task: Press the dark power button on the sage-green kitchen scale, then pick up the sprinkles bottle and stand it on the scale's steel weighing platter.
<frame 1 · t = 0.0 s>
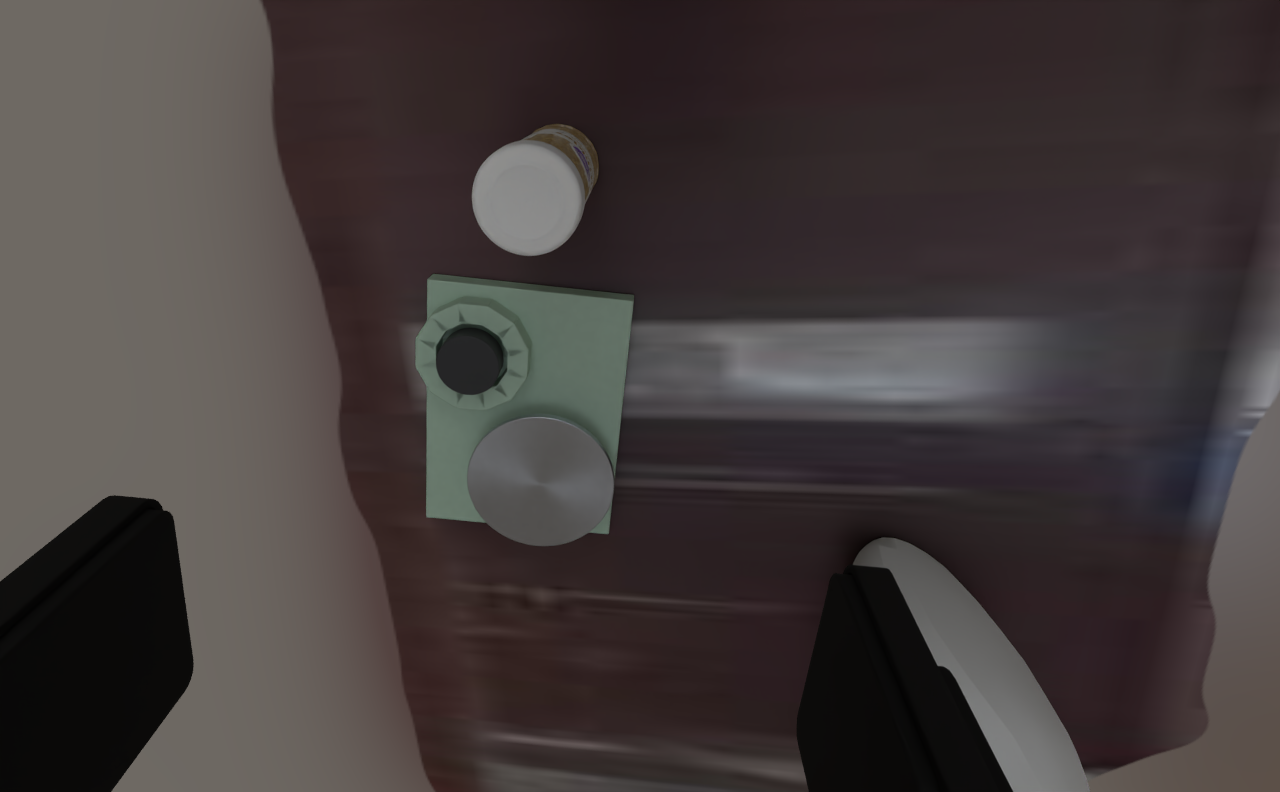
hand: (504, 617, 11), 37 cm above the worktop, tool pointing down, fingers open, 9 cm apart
soap bottle: (903, 586, 55), on the worktop
sprinkles bottle: (559, 164, 45), on the worktop
power button: (470, 361, 45), point 3 cm above the worktop, slide at 0.1 cm
scale: (526, 406, 50), on the worktop
platter: (541, 480, 49), resting on scale
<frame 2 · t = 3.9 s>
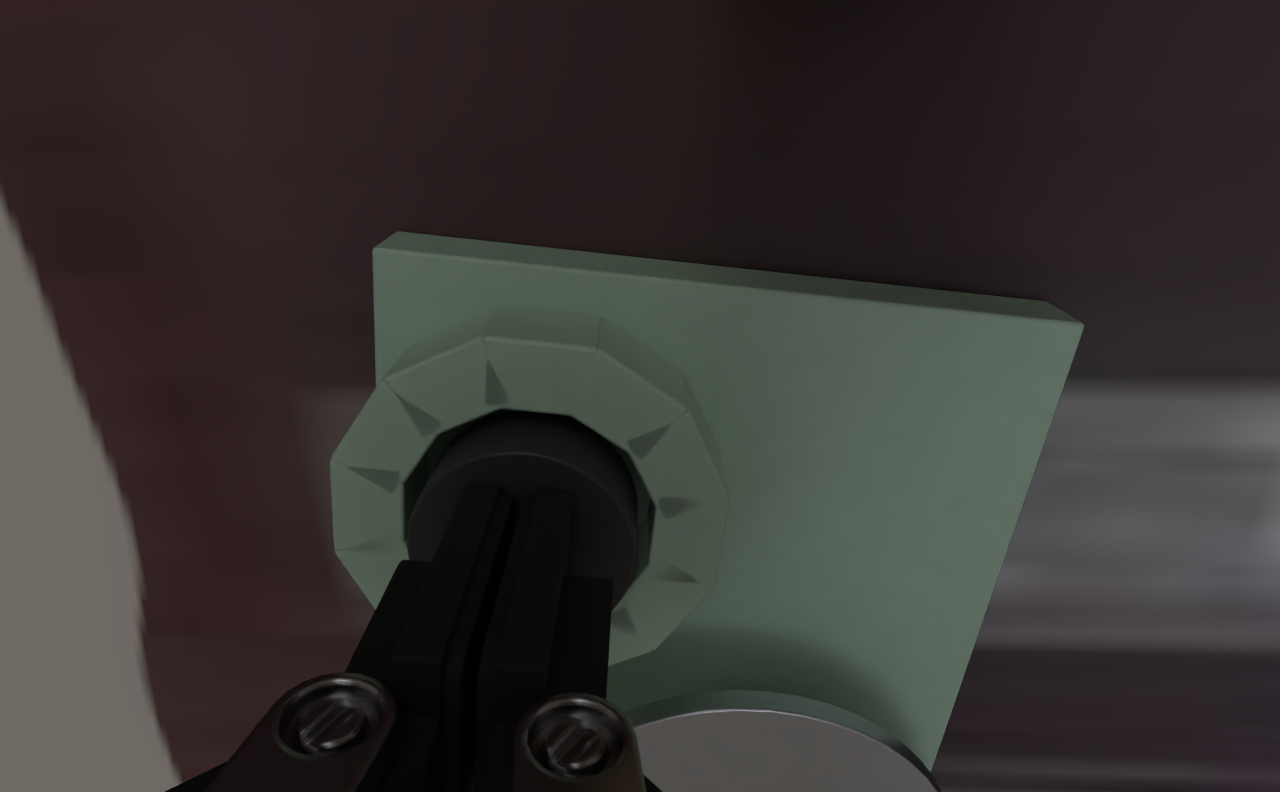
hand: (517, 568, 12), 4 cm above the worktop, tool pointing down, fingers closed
power button: (528, 527, 13), point 3 cm above the worktop, slide at -0.3 cm, touching gripper
scale: (672, 619, 17), on the worktop
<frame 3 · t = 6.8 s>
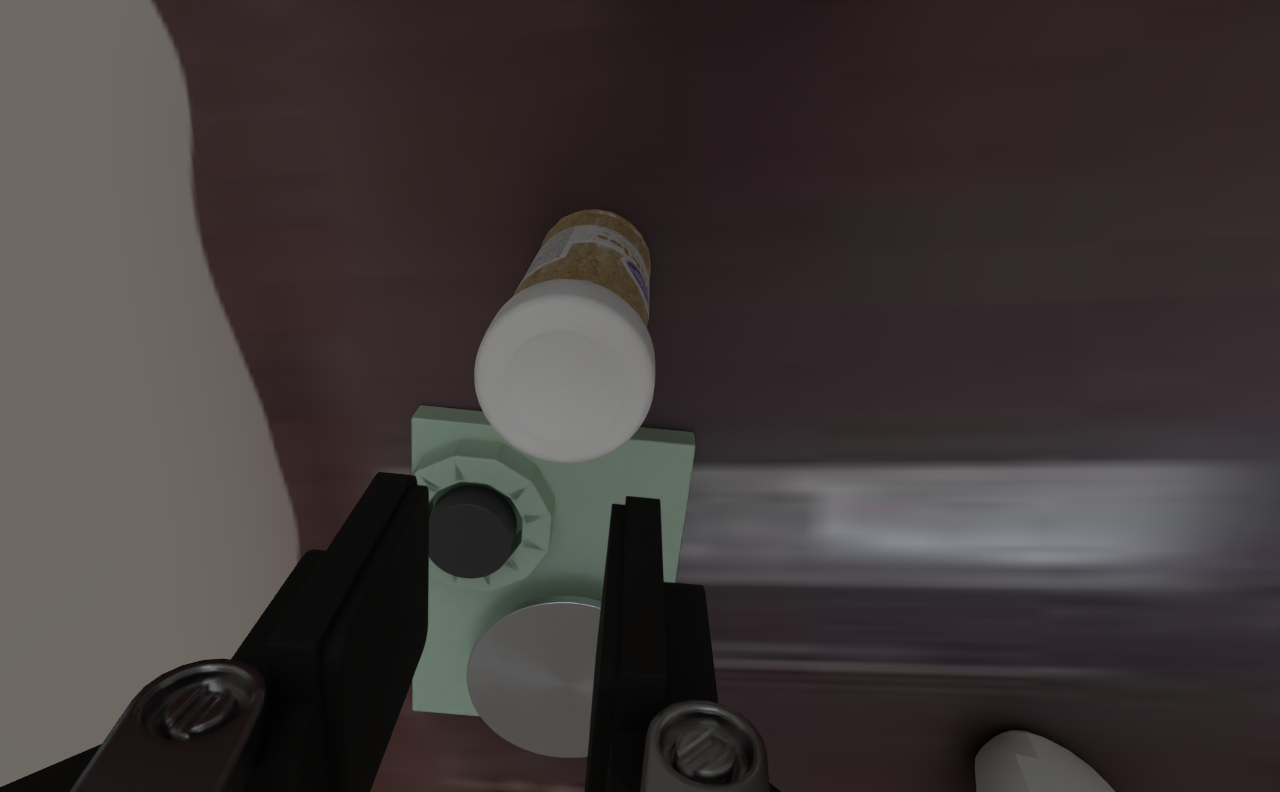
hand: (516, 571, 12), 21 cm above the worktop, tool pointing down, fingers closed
soap bottle: (1030, 783, 43), on the worktop
sprinkles bottle: (594, 261, 32), on the worktop
power button: (470, 531, 33), point 3 cm above the worktop, slide at 0.1 cm
scale: (546, 570, 38), on the worktop
platter: (567, 676, 36), resting on scale
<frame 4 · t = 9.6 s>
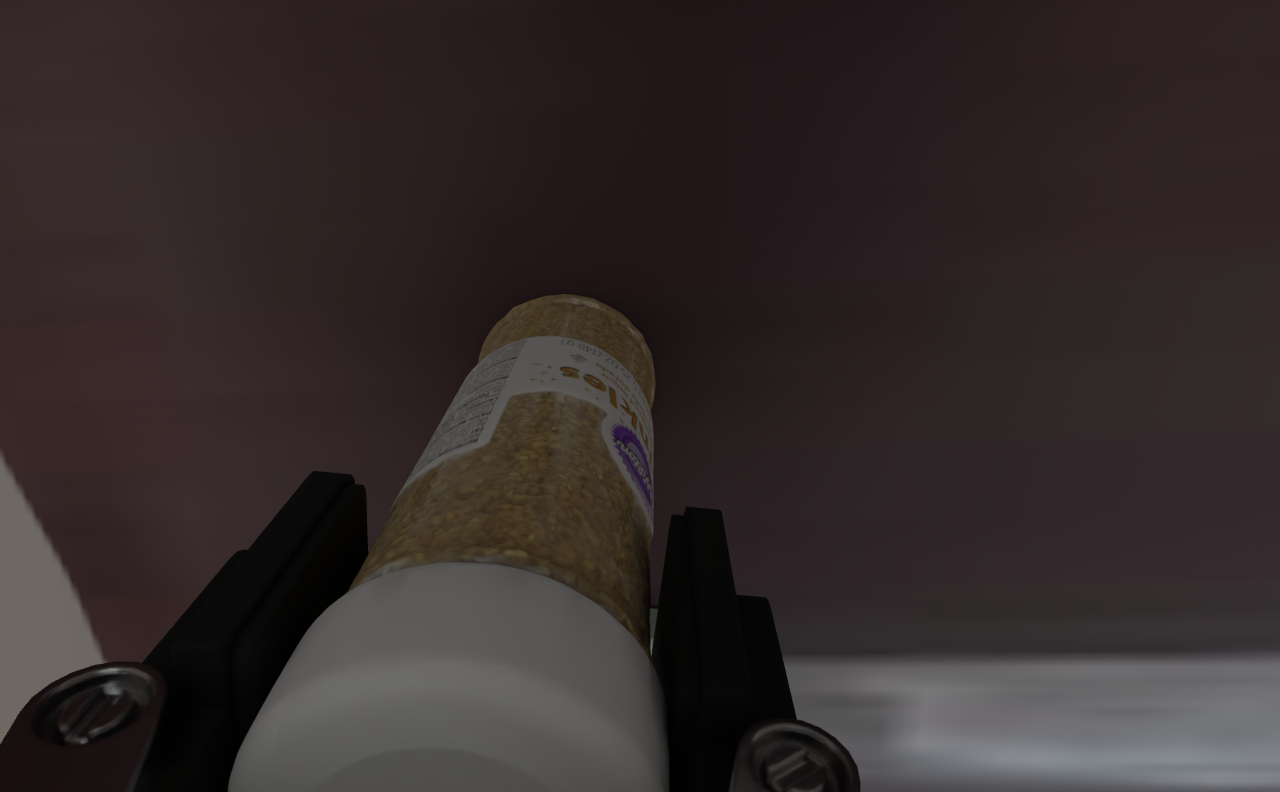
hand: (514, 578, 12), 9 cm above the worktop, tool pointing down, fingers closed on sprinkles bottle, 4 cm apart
sprinkles bottle: (566, 371, 20), on the worktop, touching gripper
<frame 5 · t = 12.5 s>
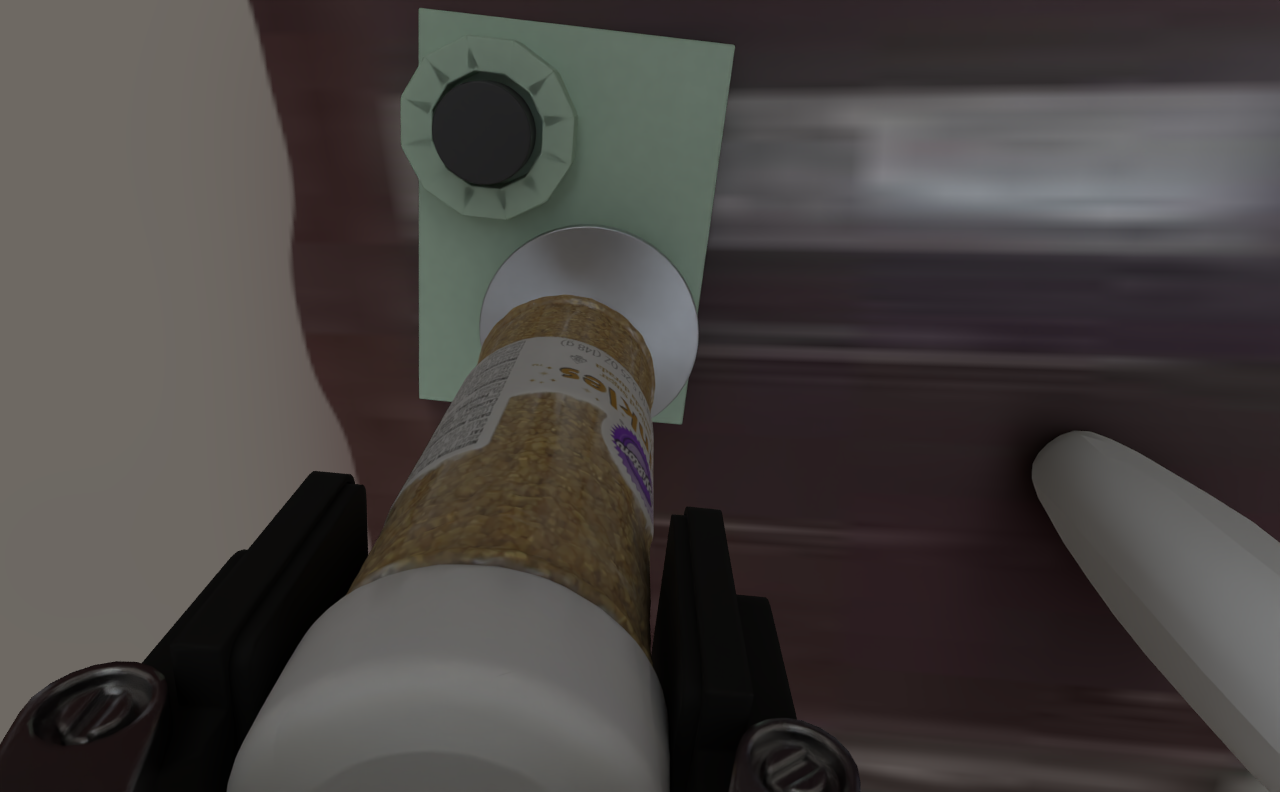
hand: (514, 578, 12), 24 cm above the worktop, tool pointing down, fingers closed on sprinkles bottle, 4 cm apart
soap bottle: (1089, 507, 40), on the worktop
sprinkles bottle: (566, 371, 20), point 15 cm above the worktop, touching gripper
power button: (485, 132, 29), point 3 cm above the worktop, slide at 0.1 cm
scale: (566, 230, 34), on the worktop
platter: (589, 332, 33), resting on scale
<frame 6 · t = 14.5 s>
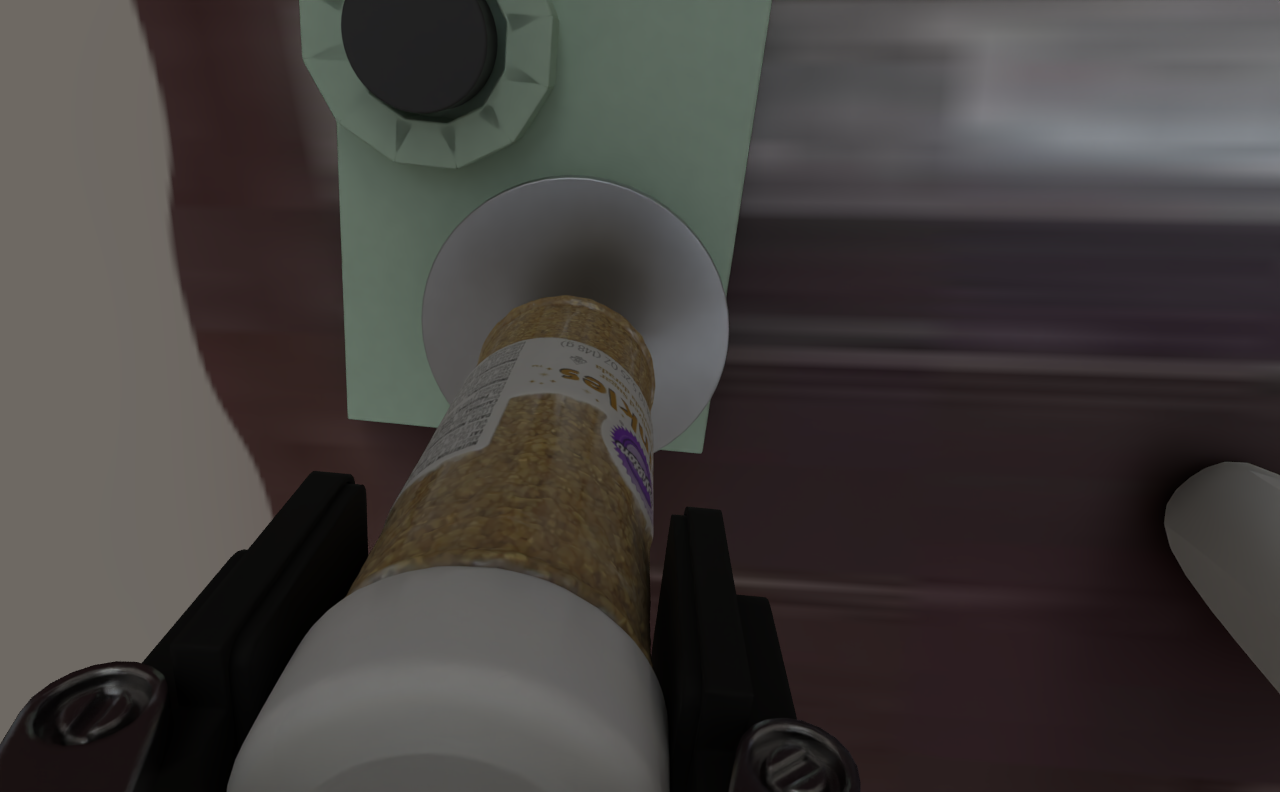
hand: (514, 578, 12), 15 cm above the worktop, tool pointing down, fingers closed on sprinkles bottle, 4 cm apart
soap bottle: (1231, 558, 30), on the worktop
sprinkles bottle: (566, 372, 20), point 6 cm above the worktop, touching gripper
power button: (422, 37, 20), point 3 cm above the worktop, slide at 0.1 cm
scale: (545, 190, 25), on the worktop
platter: (576, 330, 24), resting on scale
when the fingers open (12 cm above the worktop, at t = 15.7 s): sprinkles bottle stays where it is, resting on platter.
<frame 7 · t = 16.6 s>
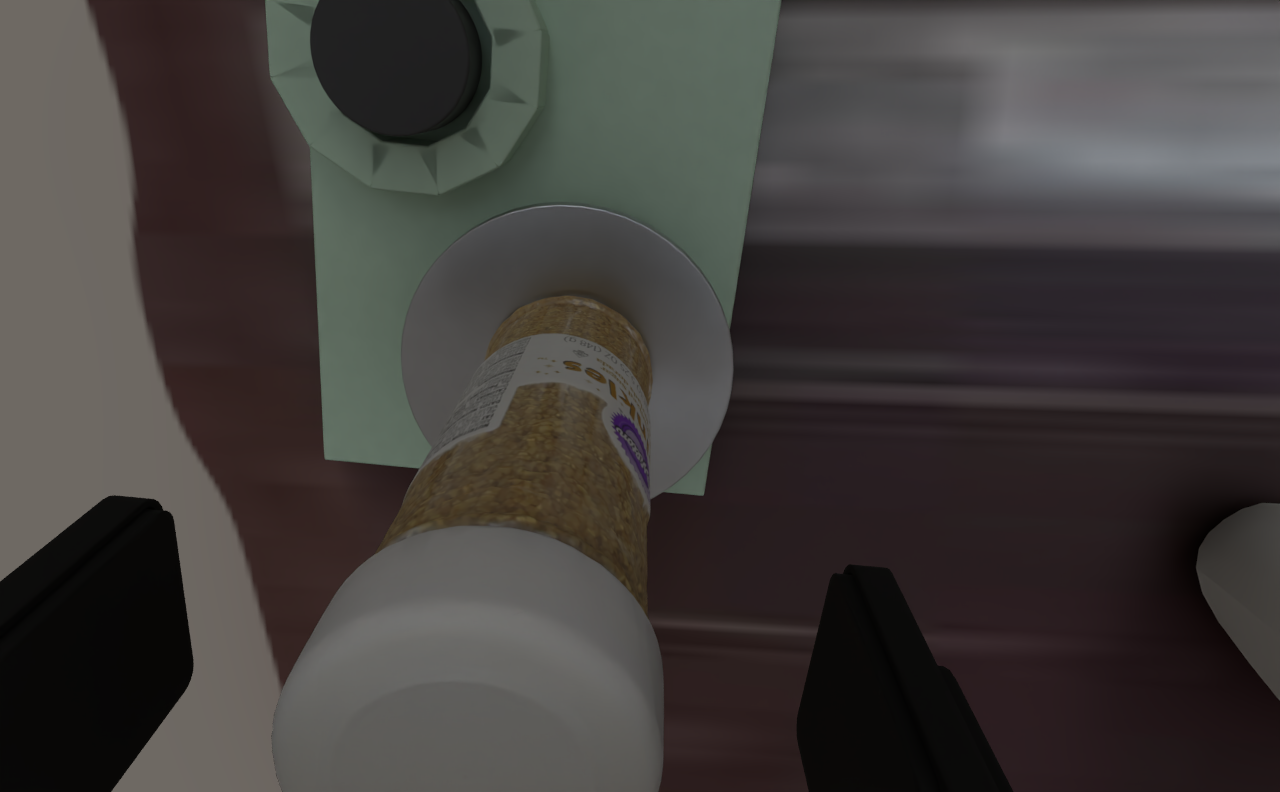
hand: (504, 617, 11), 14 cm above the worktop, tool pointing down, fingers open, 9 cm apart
soap bottle: (1265, 603, 29), on the worktop
sprinkles bottle: (568, 369, 21), point 3 cm above the worktop, touching platter
power button: (399, 53, 18), point 3 cm above the worktop, slide at 0.1 cm
scale: (535, 216, 23), on the worktop
platter: (569, 367, 22), resting on scale
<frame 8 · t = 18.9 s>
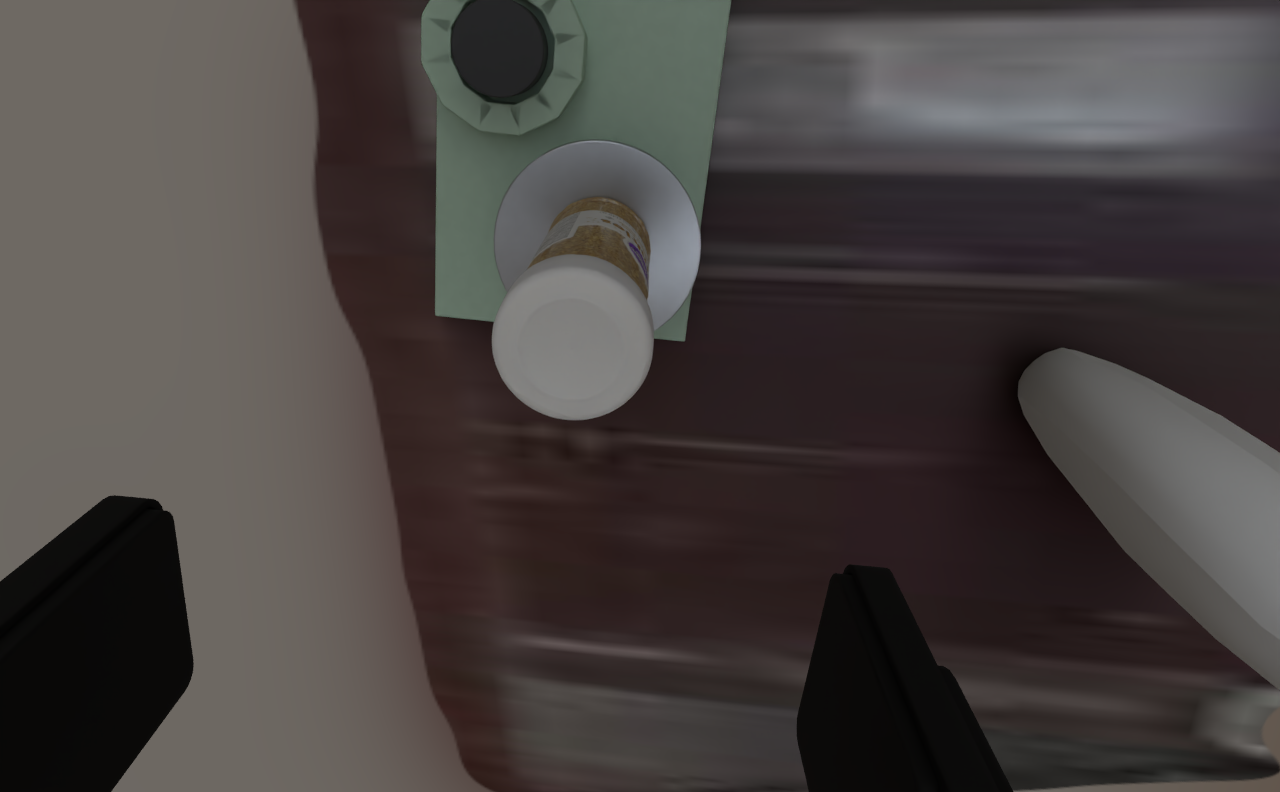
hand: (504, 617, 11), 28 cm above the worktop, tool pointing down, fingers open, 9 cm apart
soap bottle: (1073, 427, 41), on the worktop
sprinkles bottle: (597, 246, 34), point 3 cm above the worktop, touching platter
power button: (500, 48, 31), point 3 cm above the worktop, slide at 0.1 cm
scale: (575, 153, 36), on the worktop
platter: (598, 246, 35), resting on scale
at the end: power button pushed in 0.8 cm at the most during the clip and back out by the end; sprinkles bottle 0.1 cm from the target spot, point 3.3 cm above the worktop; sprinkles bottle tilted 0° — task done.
